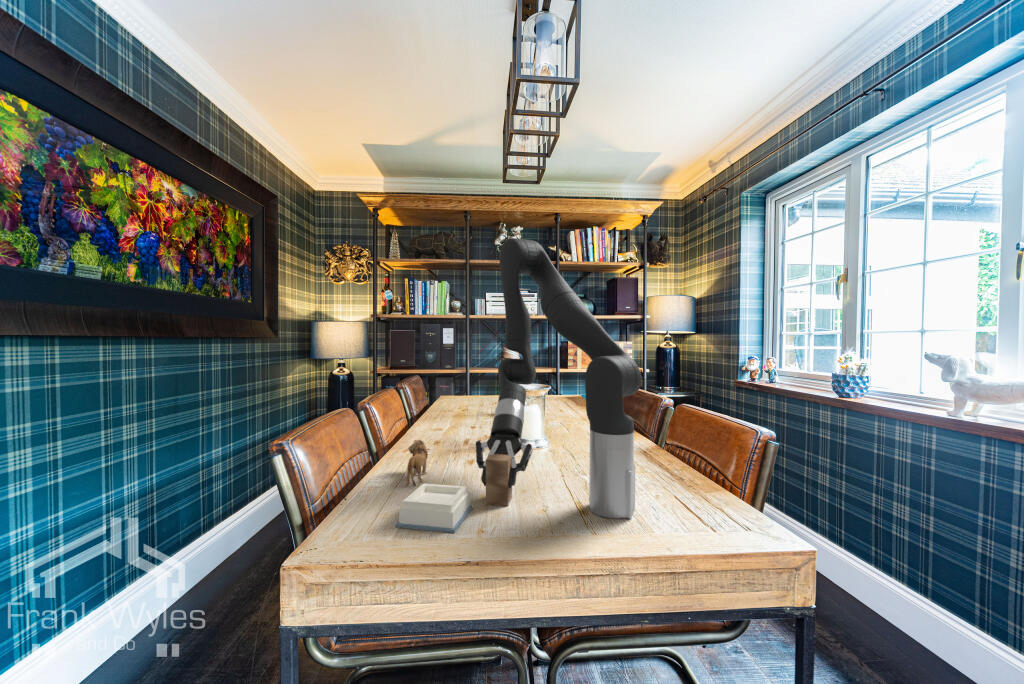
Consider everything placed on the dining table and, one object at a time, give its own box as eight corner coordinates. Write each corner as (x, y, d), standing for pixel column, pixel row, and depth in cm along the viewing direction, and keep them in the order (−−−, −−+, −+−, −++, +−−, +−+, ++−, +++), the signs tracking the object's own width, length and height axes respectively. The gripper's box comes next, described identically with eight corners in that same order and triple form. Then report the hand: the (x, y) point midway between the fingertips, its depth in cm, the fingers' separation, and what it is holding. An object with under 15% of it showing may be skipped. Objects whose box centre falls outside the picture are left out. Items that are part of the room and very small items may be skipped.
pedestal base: (472, 507, 89) (472, 485, 89) (454, 532, 77) (454, 507, 77) (420, 502, 91) (420, 481, 91) (395, 527, 80) (395, 502, 80)
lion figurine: (408, 470, 114) (408, 438, 114) (427, 469, 115) (427, 437, 115) (404, 489, 100) (404, 452, 100) (426, 488, 101) (427, 451, 101)
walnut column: (512, 497, 95) (512, 454, 95) (507, 506, 90) (507, 460, 90) (491, 495, 96) (491, 453, 96) (485, 504, 91) (485, 459, 91)
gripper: (478, 411, 101) (462, 475, 90) (535, 413, 99) (527, 480, 87) (483, 428, 107) (469, 490, 95) (538, 430, 104) (531, 495, 92)
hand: (497, 485), depth 91 cm, fingers closed on walnut column, 5 cm apart
